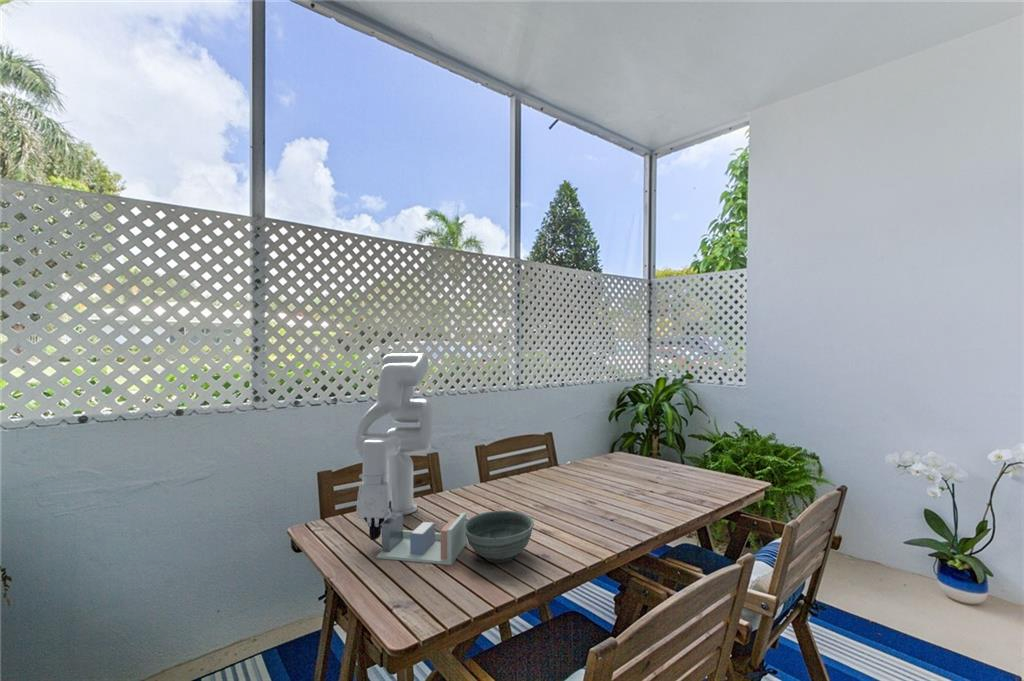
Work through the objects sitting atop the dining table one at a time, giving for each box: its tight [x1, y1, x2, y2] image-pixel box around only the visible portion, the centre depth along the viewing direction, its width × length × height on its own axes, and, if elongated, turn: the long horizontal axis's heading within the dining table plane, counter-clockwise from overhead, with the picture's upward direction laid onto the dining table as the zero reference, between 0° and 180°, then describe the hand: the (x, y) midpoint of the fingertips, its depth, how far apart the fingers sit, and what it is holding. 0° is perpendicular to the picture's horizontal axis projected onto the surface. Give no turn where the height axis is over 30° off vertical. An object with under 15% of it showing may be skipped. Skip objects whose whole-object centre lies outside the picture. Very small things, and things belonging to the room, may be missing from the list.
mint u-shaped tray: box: [376, 511, 467, 566], centre depth 134 cm, size 23×14×10 cm, turn 78°
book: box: [410, 521, 436, 555], centre depth 134 cm, size 4×9×6 cm, turn 168°
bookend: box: [381, 513, 404, 551], centre depth 136 cm, size 2×9×8 cm, turn 168°
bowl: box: [464, 510, 535, 564], centre depth 130 cm, size 21×21×10 cm
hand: (375, 538), depth 137 cm, fingers closed
